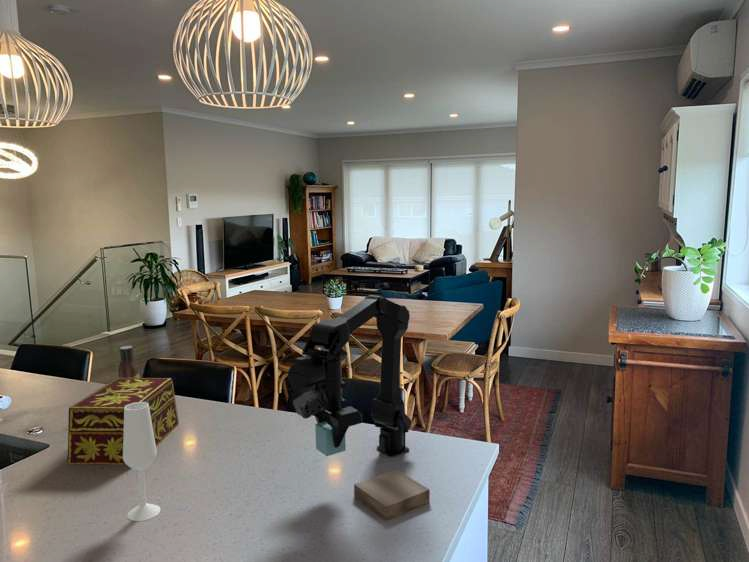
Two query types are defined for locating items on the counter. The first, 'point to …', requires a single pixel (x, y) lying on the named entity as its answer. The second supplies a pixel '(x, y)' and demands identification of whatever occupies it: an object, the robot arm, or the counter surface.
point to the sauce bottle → (127, 363)
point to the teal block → (327, 440)
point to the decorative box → (117, 418)
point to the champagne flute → (139, 453)
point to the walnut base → (391, 494)
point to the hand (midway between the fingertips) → (330, 443)
